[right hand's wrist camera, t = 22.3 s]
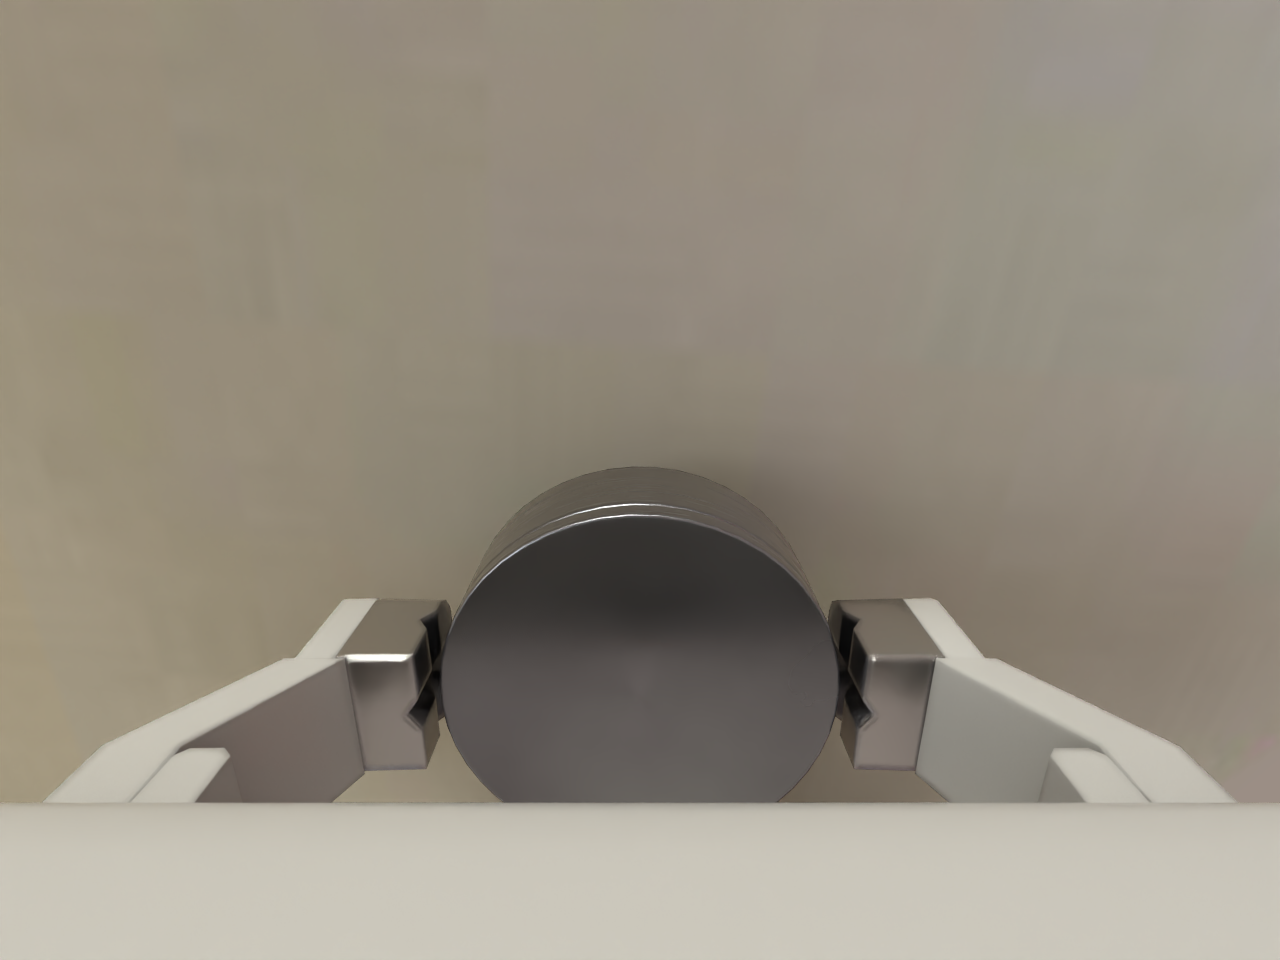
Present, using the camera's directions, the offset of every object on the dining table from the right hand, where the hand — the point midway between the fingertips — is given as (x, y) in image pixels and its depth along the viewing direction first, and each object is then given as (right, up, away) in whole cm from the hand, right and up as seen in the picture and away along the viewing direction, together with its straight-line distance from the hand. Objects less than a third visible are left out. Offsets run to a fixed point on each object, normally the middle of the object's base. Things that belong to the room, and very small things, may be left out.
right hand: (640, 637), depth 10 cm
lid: (0, 0, -1) cm, 1 cm away
